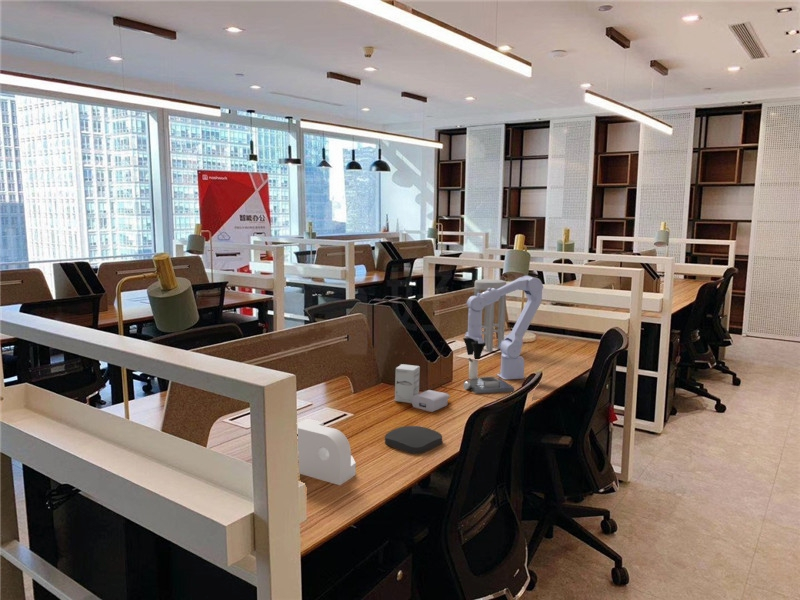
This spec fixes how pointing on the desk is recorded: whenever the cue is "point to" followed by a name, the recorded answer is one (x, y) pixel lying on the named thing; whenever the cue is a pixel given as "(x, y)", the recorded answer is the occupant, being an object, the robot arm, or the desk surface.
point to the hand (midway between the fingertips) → (473, 356)
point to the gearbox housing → (488, 385)
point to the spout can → (473, 369)
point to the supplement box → (406, 382)
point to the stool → (492, 312)
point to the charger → (430, 400)
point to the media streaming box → (413, 439)
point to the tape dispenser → (324, 453)
